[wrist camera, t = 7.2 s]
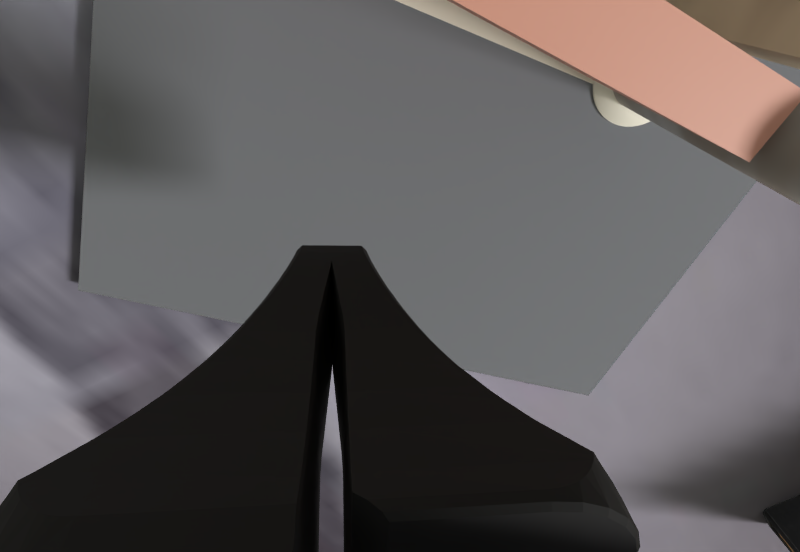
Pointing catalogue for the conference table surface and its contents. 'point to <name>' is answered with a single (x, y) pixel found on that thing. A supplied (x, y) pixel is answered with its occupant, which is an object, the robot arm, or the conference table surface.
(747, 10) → the fence base
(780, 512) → the ammunition clip
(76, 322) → the conference table surface
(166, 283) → the card
